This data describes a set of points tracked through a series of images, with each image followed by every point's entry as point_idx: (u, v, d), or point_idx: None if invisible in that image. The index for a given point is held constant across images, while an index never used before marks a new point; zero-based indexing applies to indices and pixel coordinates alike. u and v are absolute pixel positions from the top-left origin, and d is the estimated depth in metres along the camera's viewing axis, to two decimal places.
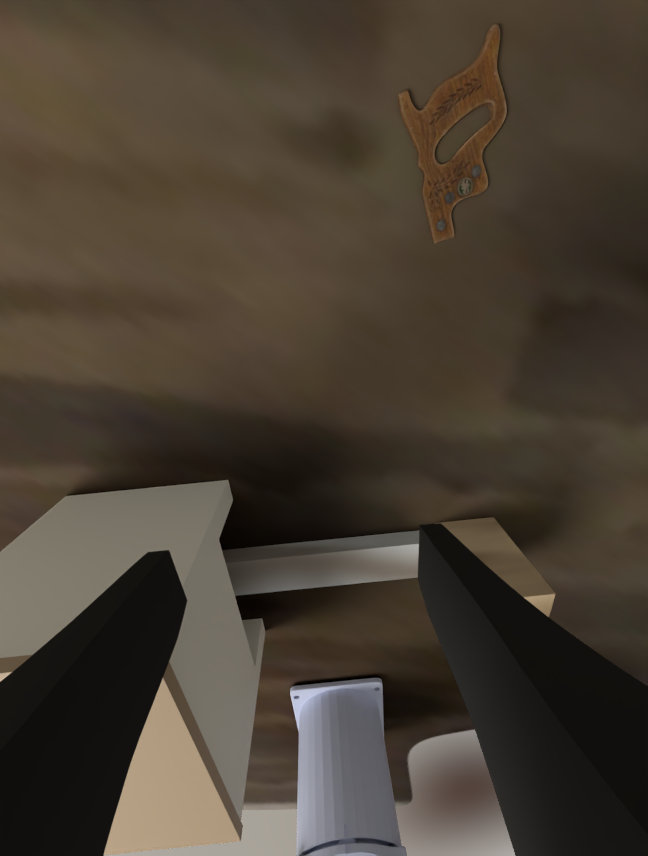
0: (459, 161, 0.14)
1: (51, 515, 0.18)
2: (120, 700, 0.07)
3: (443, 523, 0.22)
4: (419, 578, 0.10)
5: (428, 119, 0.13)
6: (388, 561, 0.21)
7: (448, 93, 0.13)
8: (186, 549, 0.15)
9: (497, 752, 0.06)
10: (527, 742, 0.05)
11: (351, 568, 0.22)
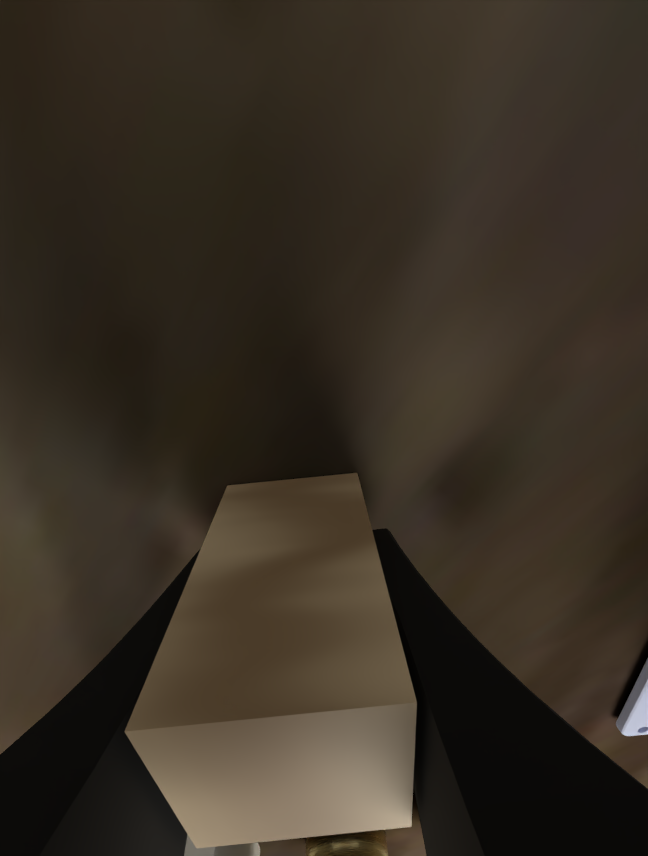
0: None
1: None
2: None
3: None
4: None
5: None
6: None
7: None
8: None
9: (415, 761, 0.06)
10: (427, 752, 0.05)
11: None
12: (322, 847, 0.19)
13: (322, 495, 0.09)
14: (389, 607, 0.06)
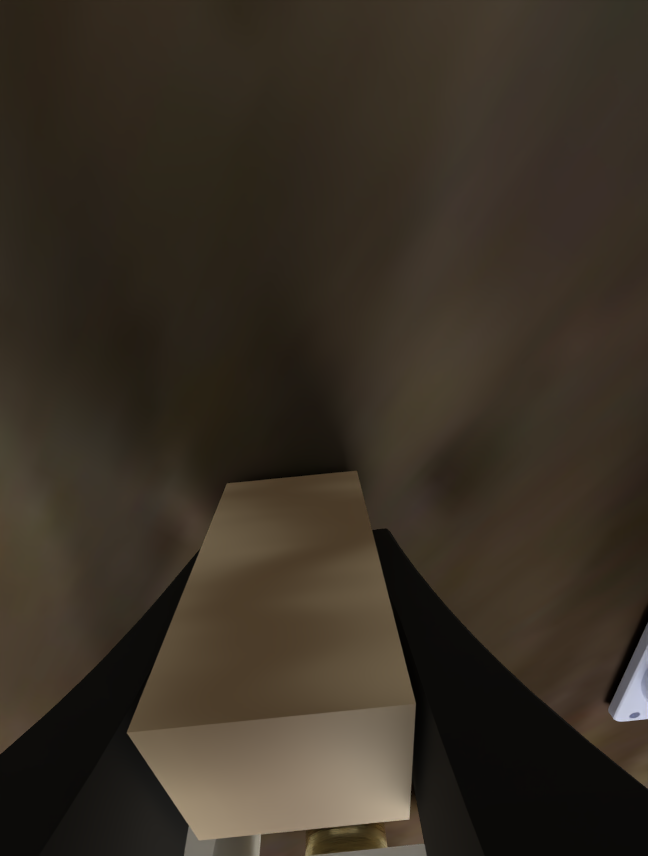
0: None
1: None
2: None
3: None
4: None
5: None
6: None
7: None
8: None
9: (415, 761, 0.06)
10: (427, 752, 0.05)
11: None
12: (321, 833, 0.19)
13: (322, 493, 0.09)
14: (389, 608, 0.06)
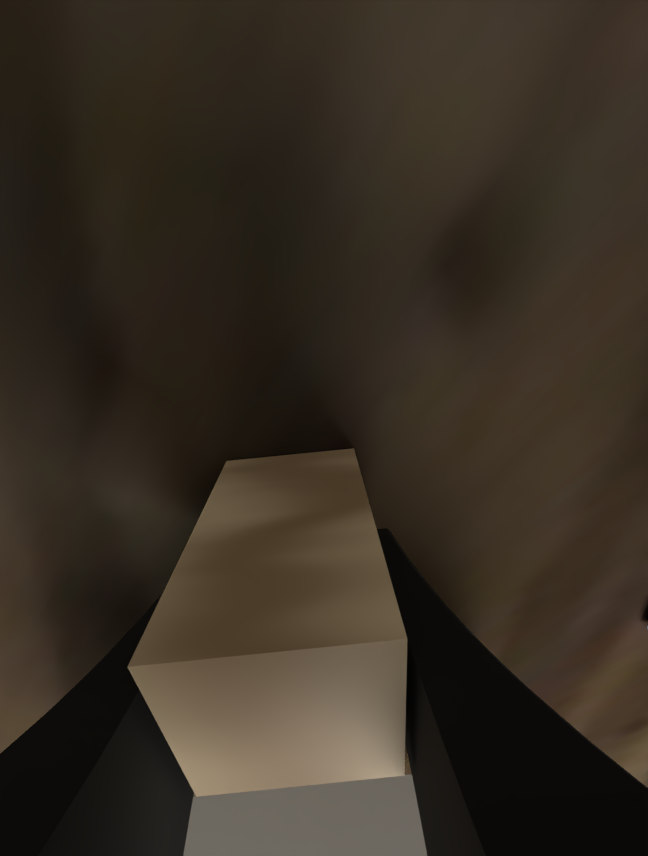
0: None
1: None
2: None
3: None
4: None
5: None
6: None
7: None
8: None
9: (415, 761, 0.06)
10: (427, 752, 0.05)
11: None
12: None
13: (319, 468, 0.09)
14: (383, 561, 0.06)
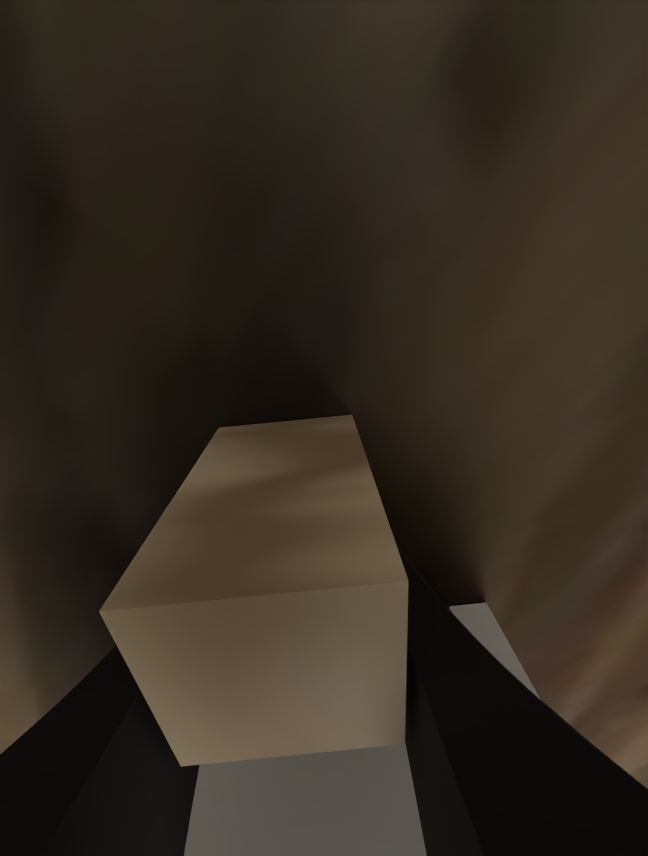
0: None
1: None
2: None
3: None
4: None
5: None
6: None
7: None
8: None
9: (415, 761, 0.06)
10: (426, 752, 0.05)
11: None
12: None
13: (315, 431, 0.09)
14: (382, 510, 0.05)
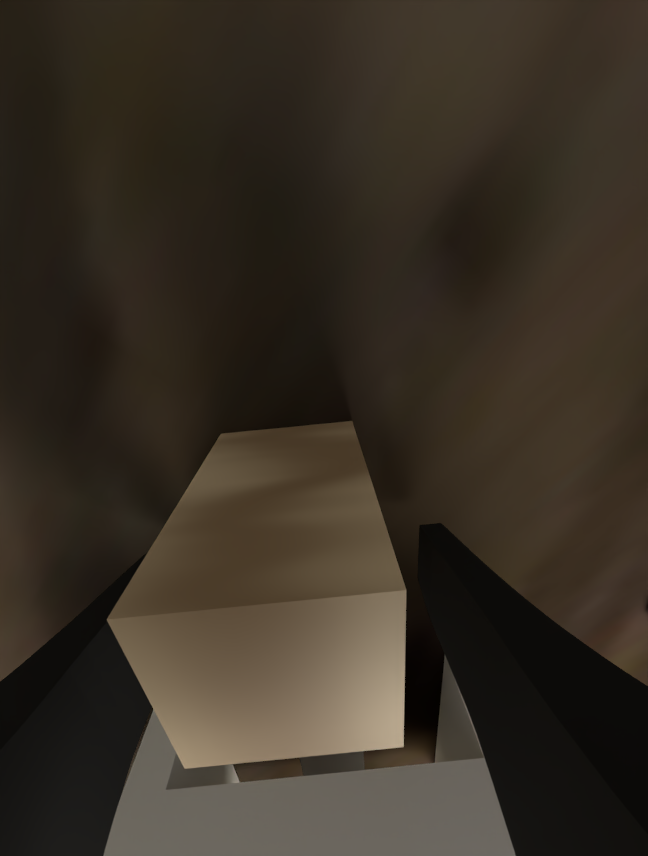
0: None
1: None
2: (120, 700, 0.07)
3: None
4: (419, 578, 0.10)
5: None
6: None
7: None
8: None
9: (497, 752, 0.06)
10: (527, 742, 0.05)
11: None
12: None
13: (316, 438, 0.09)
14: (381, 519, 0.06)
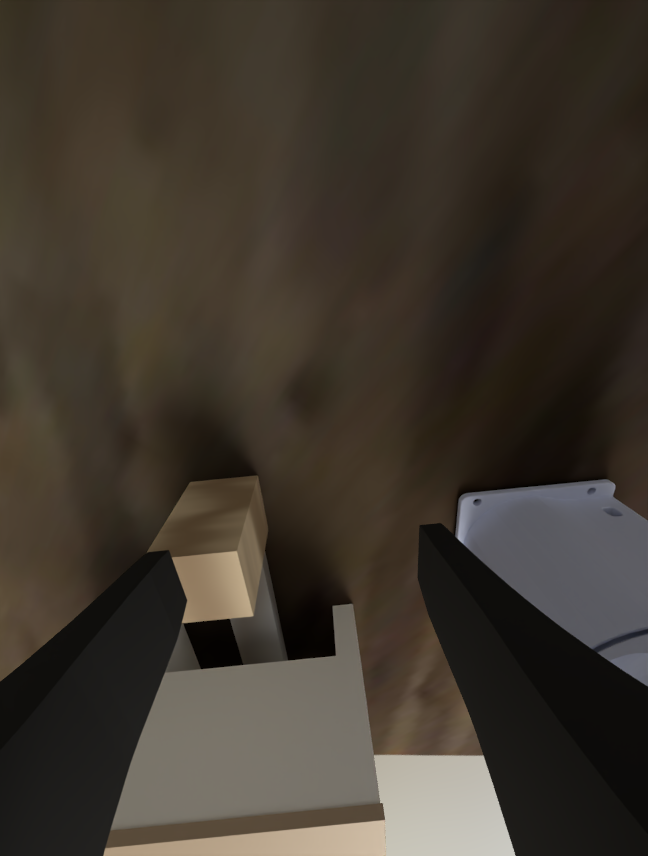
0: None
1: None
2: (120, 700, 0.07)
3: None
4: (419, 578, 0.10)
5: None
6: None
7: None
8: None
9: (497, 752, 0.06)
10: (527, 742, 0.05)
11: None
12: None
13: (235, 486, 0.18)
14: (241, 527, 0.15)
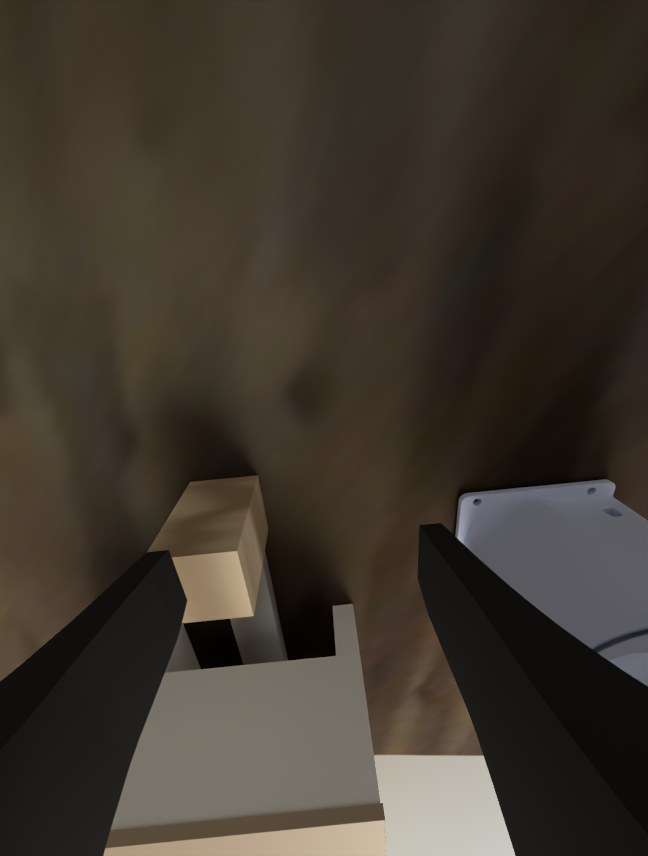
0: None
1: None
2: (120, 700, 0.07)
3: None
4: (419, 578, 0.10)
5: None
6: None
7: None
8: None
9: (497, 752, 0.06)
10: (527, 742, 0.05)
11: None
12: None
13: (235, 486, 0.18)
14: (242, 527, 0.15)
